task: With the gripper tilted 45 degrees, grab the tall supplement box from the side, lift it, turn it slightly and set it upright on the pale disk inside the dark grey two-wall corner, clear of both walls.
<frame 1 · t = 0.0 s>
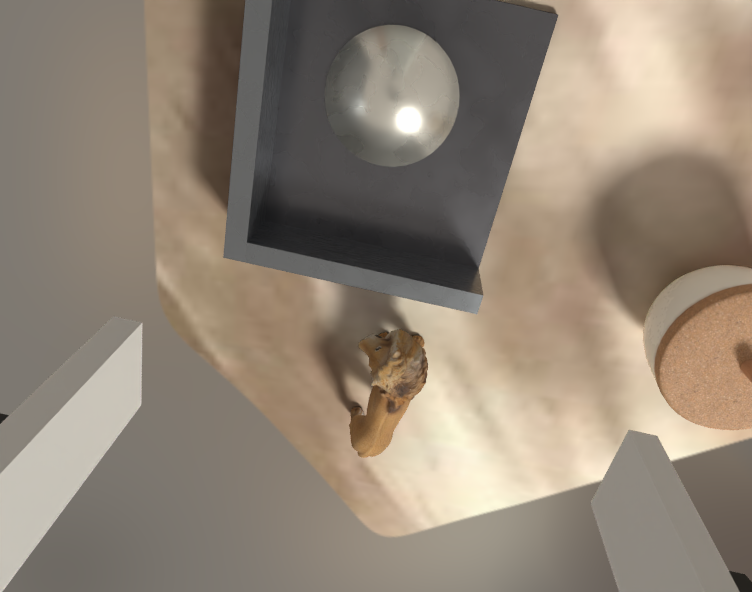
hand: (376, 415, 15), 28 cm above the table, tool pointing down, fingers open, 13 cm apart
lidded jar: (696, 307, 43), on the table
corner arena: (391, 98, 38), on the table
lion figurine: (385, 363, 48), on the table
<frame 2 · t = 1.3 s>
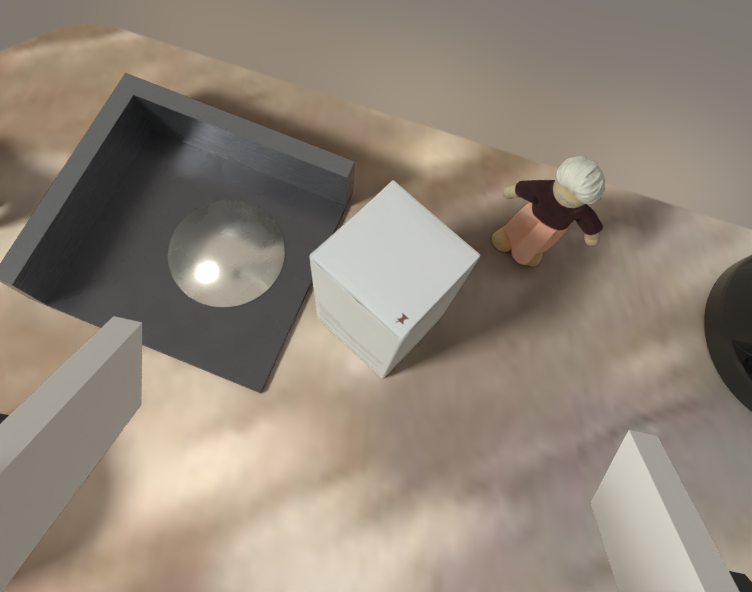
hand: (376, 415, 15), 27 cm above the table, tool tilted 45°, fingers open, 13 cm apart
grandmother figurine: (523, 249, 47), on the table
supplement box: (379, 316, 45), on the table
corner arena: (228, 254, 45), on the table
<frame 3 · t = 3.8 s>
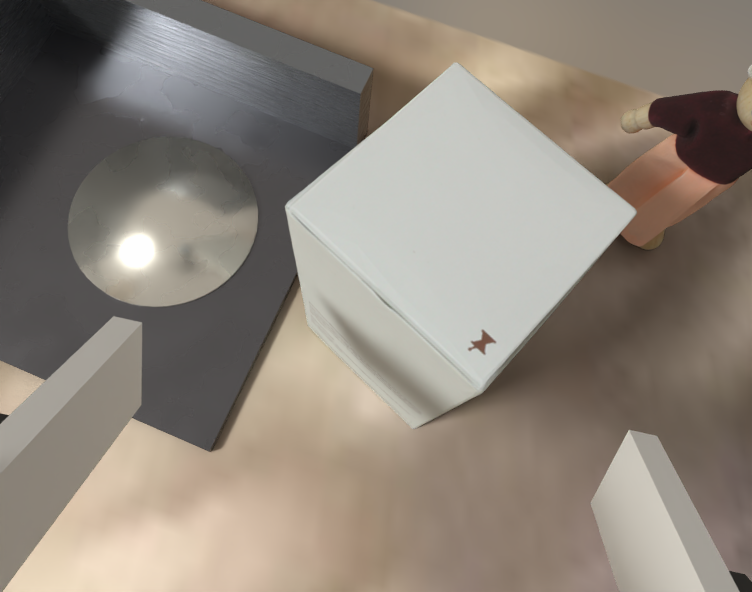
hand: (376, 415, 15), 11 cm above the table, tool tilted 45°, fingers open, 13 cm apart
grandmother figurine: (633, 222, 30), on the table
supplement box: (409, 324, 28), on the table
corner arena: (167, 222, 28), on the table
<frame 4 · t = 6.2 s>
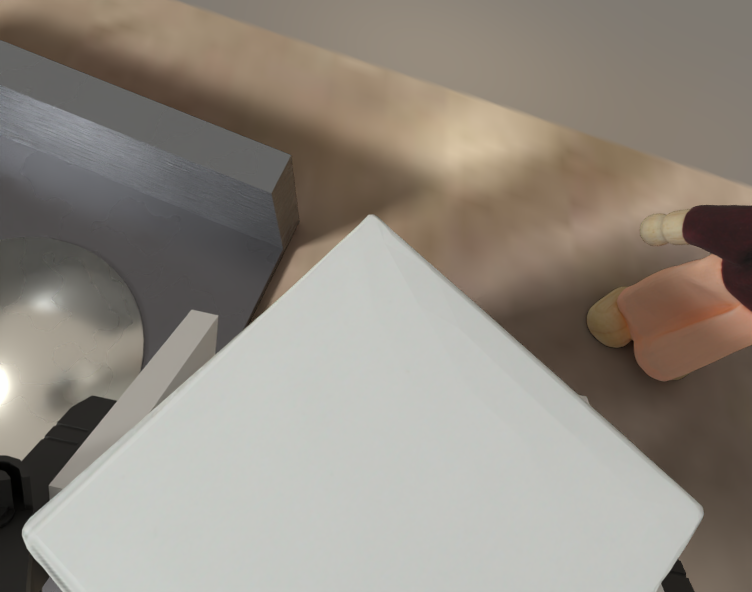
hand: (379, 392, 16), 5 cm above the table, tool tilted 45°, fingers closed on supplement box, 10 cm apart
grandmother figurine: (652, 340, 23), on the table
supplement box: (351, 497, 20), on the table, touching gripper
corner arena: (19, 357, 21), on the table
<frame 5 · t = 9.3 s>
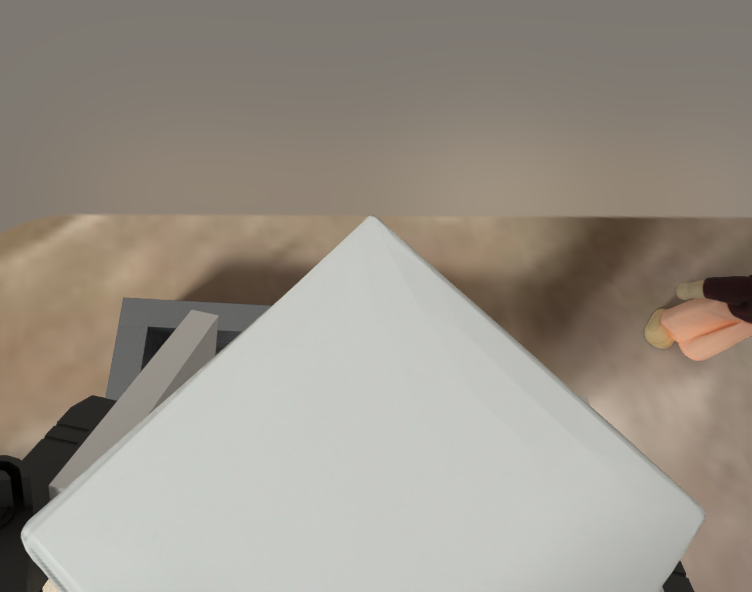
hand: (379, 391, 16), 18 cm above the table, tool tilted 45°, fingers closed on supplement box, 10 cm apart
grandmother figurine: (684, 335, 37), on the table
supplement box: (351, 498, 20), point 13 cm above the table, touching gripper
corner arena: (340, 483, 33), on the table
when the fingers open (7 cm above the table, at t = 12.5 s): supplement box drops 1 cm, resting on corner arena.
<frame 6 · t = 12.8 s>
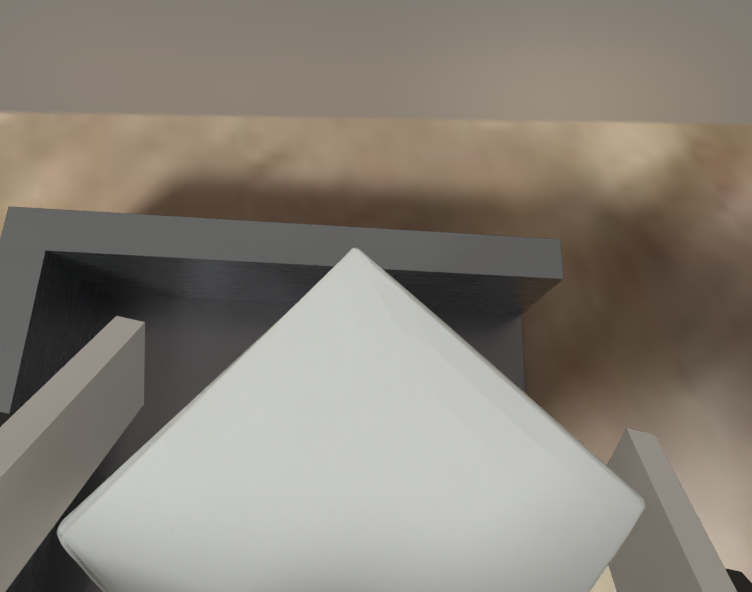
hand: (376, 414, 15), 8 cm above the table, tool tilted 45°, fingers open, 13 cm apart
supplement box: (346, 496, 21), resting on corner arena
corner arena: (348, 495, 22), on the table
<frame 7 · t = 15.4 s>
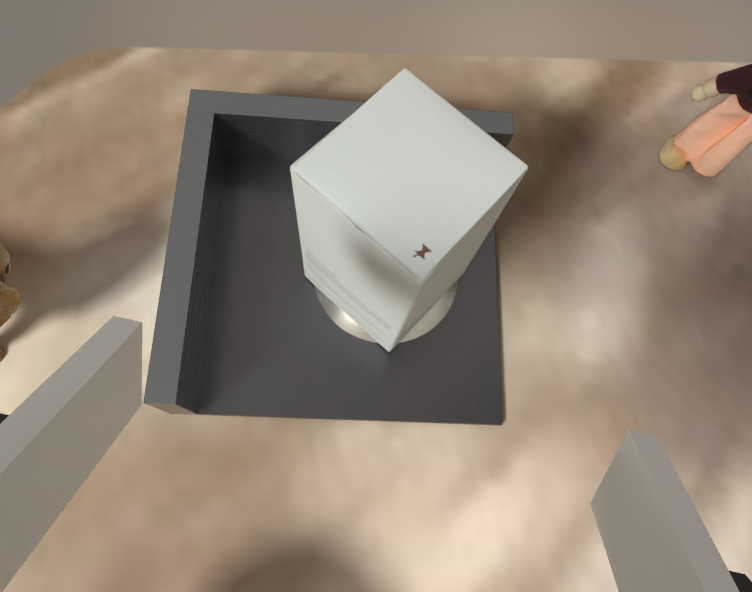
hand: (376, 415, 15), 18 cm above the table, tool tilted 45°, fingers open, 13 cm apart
grandmother figurine: (695, 160, 40), on the table
supplement box: (384, 273, 35), resting on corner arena
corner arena: (385, 275, 36), on the table
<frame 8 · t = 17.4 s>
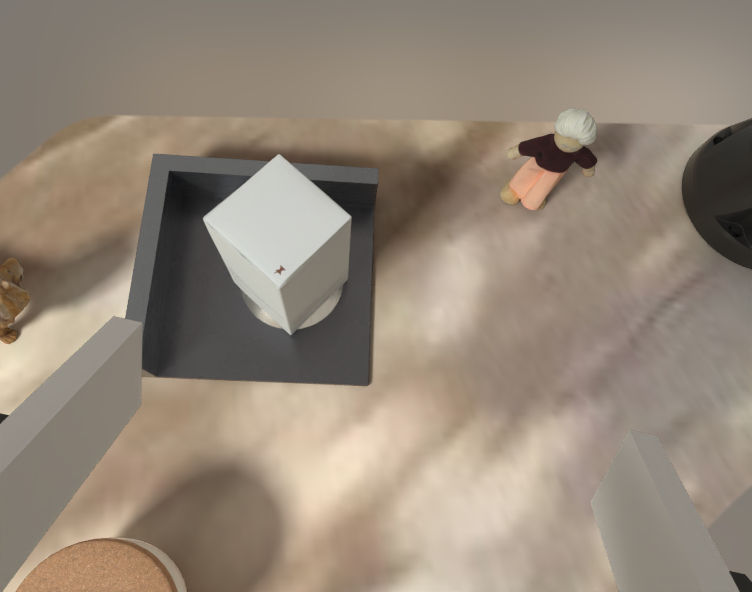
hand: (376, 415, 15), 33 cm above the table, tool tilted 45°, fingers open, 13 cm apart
grandmother figurine: (528, 197, 55), on the table
supplement box: (291, 280, 50), resting on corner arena
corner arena: (292, 281, 50), on the table
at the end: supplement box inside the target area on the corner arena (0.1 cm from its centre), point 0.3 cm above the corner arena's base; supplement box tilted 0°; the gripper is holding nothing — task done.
